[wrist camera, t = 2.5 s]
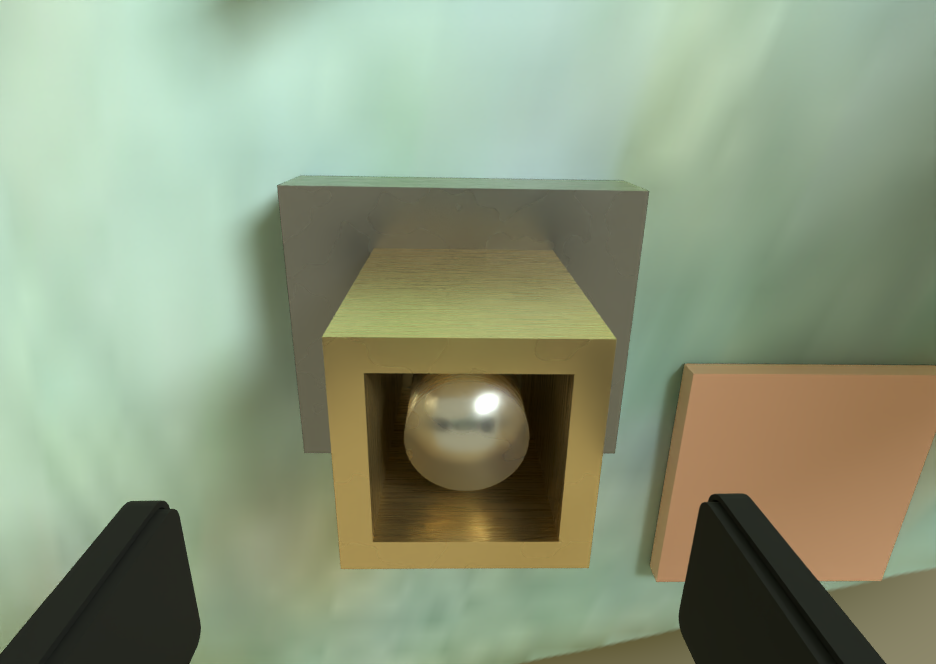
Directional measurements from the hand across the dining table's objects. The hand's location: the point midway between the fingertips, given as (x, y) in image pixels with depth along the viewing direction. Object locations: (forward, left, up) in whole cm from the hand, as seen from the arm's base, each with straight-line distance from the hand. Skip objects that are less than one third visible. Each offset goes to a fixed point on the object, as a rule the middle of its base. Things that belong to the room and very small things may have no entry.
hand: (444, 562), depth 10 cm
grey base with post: (0, 0, -14) cm, 14 cm away
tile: (-15, +8, -14) cm, 22 cm away
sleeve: (0, 0, -11) cm, 11 cm away
